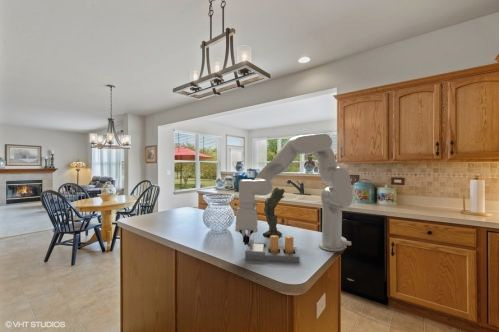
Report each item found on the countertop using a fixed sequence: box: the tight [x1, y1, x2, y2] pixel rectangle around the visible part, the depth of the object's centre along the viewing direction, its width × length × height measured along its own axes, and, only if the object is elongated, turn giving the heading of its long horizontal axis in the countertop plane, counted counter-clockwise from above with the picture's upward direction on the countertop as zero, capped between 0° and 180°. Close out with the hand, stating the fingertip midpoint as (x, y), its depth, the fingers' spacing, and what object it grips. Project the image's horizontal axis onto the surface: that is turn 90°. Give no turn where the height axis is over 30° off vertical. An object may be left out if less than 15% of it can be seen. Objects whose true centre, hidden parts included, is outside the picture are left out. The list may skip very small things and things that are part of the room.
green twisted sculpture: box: [262, 187, 286, 238], centre depth 141 cm, size 14×7×30 cm, turn 106°
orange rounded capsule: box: [269, 235, 280, 253], centre depth 110 cm, size 4×4×9 cm
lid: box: [250, 236, 264, 251], centre depth 111 cm, size 6×10×5 cm, turn 175°
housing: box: [244, 241, 300, 263], centre depth 110 cm, size 24×12×4 cm, turn 85°
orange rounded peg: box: [284, 235, 294, 254], centre depth 109 cm, size 4×4×9 cm
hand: (246, 243), depth 111 cm, fingers closed
